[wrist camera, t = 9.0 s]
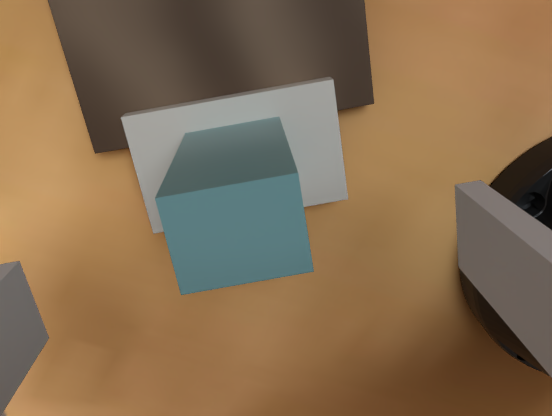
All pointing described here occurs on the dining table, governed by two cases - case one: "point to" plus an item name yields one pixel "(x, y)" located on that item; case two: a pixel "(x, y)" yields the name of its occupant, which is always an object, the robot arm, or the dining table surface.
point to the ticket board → (205, 53)
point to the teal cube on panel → (239, 180)
